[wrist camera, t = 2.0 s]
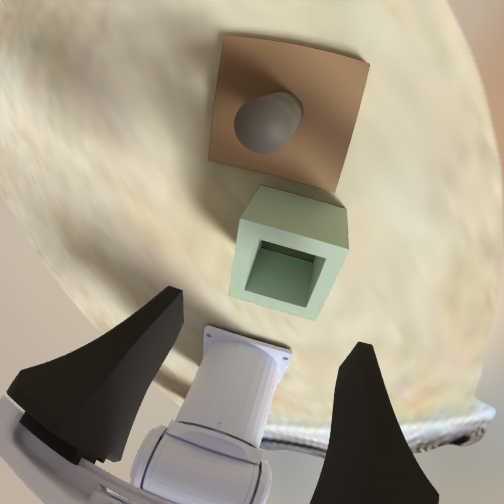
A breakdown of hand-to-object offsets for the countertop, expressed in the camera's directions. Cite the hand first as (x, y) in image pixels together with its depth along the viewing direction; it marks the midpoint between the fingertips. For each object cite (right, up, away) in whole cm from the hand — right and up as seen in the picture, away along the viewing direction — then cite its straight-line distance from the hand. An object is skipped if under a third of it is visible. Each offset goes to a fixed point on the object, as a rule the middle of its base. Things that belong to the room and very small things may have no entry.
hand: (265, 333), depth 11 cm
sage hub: (+2, +4, +6) cm, 8 cm away
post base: (+1, +10, +2) cm, 11 cm away
